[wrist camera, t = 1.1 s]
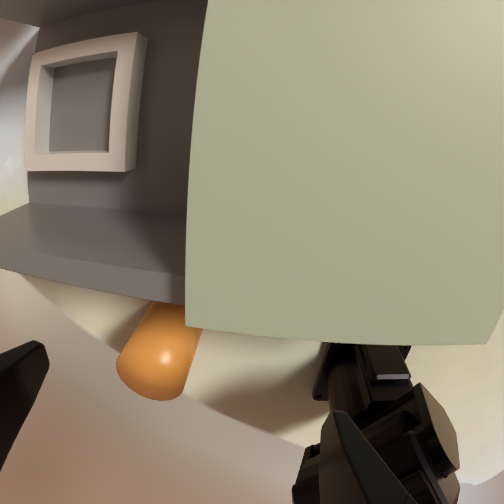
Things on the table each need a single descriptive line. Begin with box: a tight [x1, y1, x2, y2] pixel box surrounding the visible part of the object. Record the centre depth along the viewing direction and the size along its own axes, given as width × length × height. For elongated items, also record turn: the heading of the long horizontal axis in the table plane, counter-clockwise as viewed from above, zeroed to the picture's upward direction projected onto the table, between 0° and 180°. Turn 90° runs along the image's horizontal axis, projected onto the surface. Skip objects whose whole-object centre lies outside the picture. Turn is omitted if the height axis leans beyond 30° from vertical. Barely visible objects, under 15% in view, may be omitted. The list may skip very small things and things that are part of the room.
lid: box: [185, 0, 504, 345], centre depth 8 cm, size 15×13×3 cm
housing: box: [0, 0, 208, 305], centre depth 12 cm, size 15×18×8 cm
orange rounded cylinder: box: [116, 301, 203, 401], centre depth 18 cm, size 4×4×6 cm
